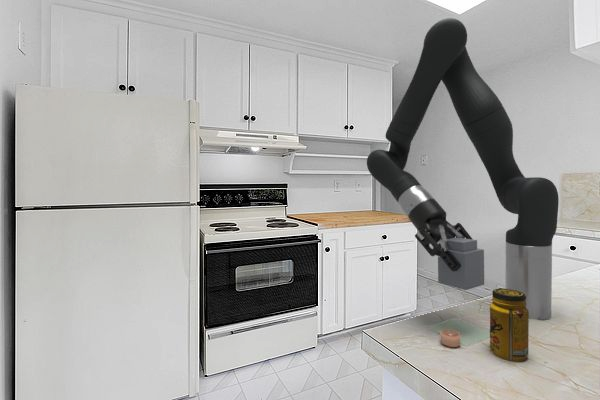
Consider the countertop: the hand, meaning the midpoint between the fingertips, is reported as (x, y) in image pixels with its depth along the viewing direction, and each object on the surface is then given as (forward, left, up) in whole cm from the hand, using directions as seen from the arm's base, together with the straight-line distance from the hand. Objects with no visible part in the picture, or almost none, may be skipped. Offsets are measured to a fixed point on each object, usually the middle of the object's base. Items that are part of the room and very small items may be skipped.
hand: (467, 266), depth 67 cm
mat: (0, -2, -15) cm, 15 cm away
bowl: (+7, -2, -15) cm, 16 cm away
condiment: (+4, +9, -15) cm, 18 cm away
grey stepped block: (-1, -1, -4) cm, 4 cm away
